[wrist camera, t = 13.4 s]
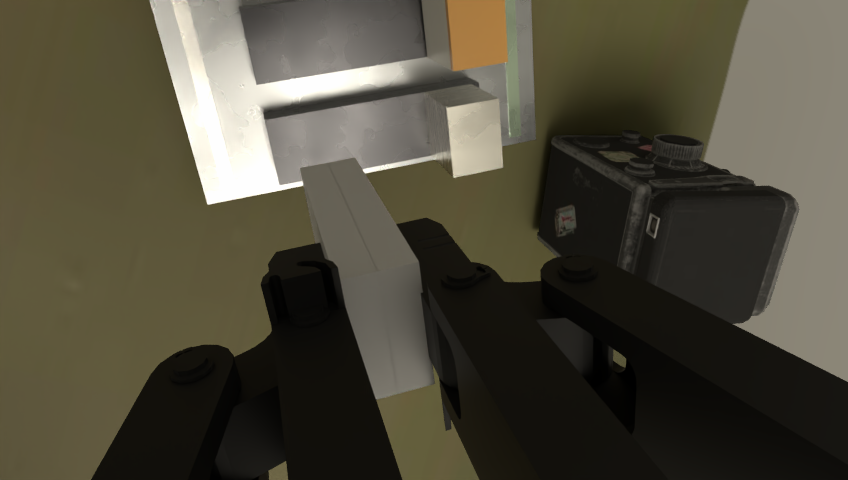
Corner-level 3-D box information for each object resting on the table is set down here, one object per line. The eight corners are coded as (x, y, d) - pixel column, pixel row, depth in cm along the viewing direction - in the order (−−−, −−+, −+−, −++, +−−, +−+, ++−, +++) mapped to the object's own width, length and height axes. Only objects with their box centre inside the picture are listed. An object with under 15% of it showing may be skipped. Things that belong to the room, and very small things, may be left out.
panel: (208, 193, 40) (203, 247, 33) (118, -127, 32) (84, -151, 25) (523, 132, 45) (582, 167, 37) (511, -164, 37) (582, -194, 29)
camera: (643, 239, 52) (784, 336, 38) (526, 246, 49) (635, 352, 36) (671, 114, 47) (840, 174, 34) (545, 113, 45) (676, 178, 31)
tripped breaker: (427, 57, 36) (453, 71, 32) (419, -16, 35) (446, -12, 30) (475, 49, 37) (508, 62, 33) (470, -23, 35) (503, -21, 31)
